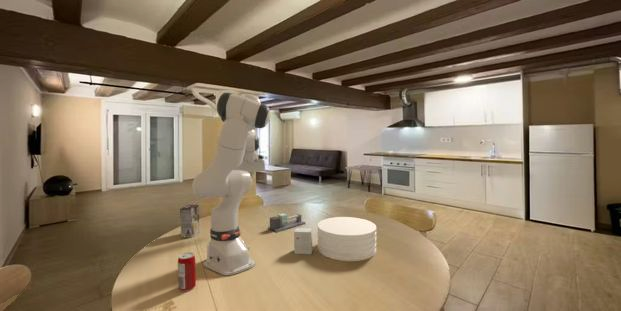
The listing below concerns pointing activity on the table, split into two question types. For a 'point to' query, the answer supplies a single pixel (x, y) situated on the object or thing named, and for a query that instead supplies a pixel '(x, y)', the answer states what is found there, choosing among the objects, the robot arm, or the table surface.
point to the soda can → (186, 271)
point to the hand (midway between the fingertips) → (249, 179)
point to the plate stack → (347, 238)
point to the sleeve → (283, 218)
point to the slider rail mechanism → (277, 227)
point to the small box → (303, 241)
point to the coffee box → (189, 220)
